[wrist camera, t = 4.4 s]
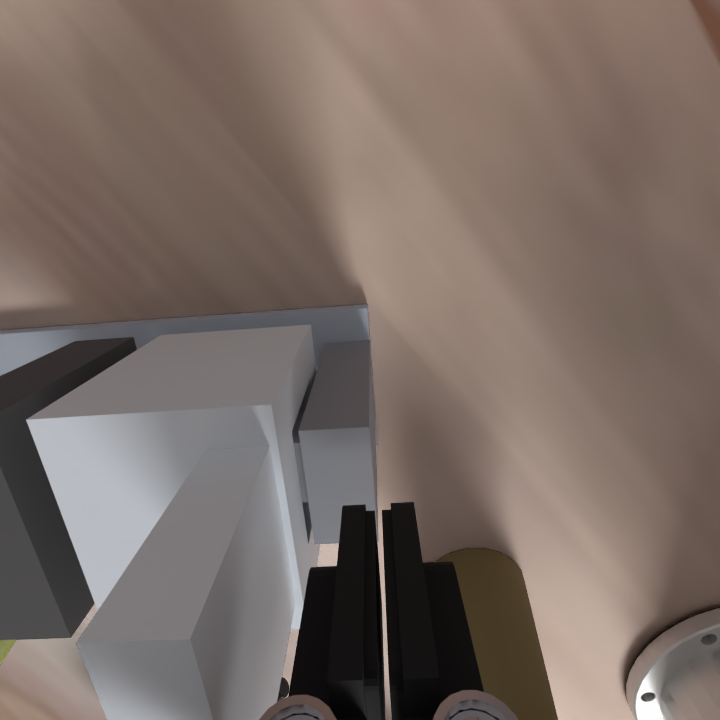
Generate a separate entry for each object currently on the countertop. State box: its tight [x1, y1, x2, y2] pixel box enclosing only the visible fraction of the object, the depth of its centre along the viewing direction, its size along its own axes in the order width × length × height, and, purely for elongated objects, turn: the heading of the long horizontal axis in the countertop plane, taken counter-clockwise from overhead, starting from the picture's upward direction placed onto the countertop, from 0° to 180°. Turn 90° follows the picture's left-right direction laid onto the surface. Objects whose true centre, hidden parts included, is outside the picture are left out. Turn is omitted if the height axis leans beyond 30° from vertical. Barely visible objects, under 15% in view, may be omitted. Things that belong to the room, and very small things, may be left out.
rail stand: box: [0, 304, 378, 544], centre depth 18 cm, size 24×7×9 cm, turn 94°
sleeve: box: [26, 325, 320, 720], centre depth 13 cm, size 6×7×12 cm
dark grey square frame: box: [0, 337, 137, 640], centre depth 15 cm, size 2×7×7 cm, turn 4°
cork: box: [436, 548, 558, 720], centre depth 21 cm, size 6×6×11 cm
